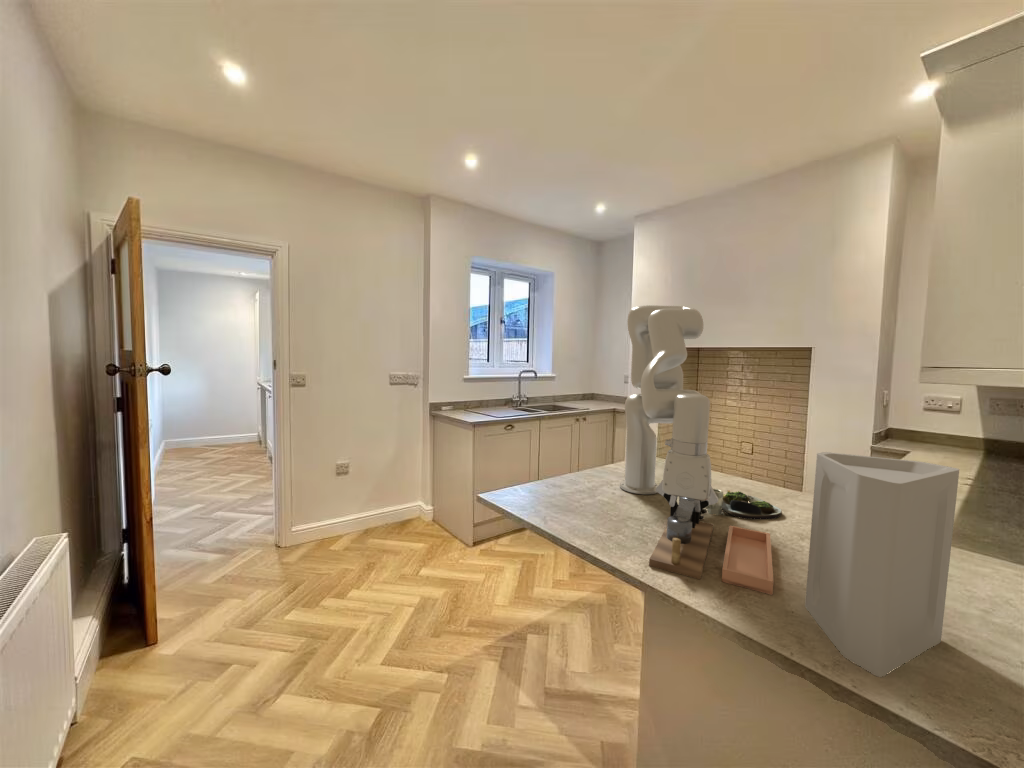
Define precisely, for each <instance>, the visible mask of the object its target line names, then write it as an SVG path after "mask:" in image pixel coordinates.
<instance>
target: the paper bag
mask: <svg viewBox="0 0 1024 768" xmlns="http://www.w3.org/2000/svg"><path fill="white" fill-rule="evenodd" d="M814 476H815V477H814V488H813V502H812V512H811V524H810V525H811V526H810V536H809V537H810V538H809V551H808V564H807V576H806V589H805V600H804V601H805V602H804V607H806V608H805V609H806V611H807V612H808V611H809V612H808V613H809V614H810V615H811V617H812V618H813V619H814V621H815V622H816V624H817V625H818V626H819V627H820V629H821V630H822V631H823V632H824V634H825V635H826V636H827V637H828V639H829V640H830V642H831V643H832V644H833V645H834V647H835V646H836V647H835V648H836V649H837V651H838V650H839V651H840V652H839V651H838V652H839V654H841V656H842V655H843V656H842V657H843V658H845V659H846V658H847V659H846V660H848V659H849V660H850V661H849V660H848V661H849V662H851V661H852V662H851V663H853V662H854V663H855V664H854V663H853V664H854V665H856V664H857V665H856V666H858V665H859V666H861V667H862V668H861V667H860V668H861V669H863V668H864V669H863V670H865V669H866V670H867V671H866V670H865V671H866V672H868V671H869V672H868V673H870V672H871V673H870V674H872V675H874V676H875V677H879V678H883V677H882V676H884V677H886V676H887V675H886V674H887V673H889V672H890V671H892V670H893V669H895V668H897V667H899V666H901V665H902V664H904V663H906V662H907V663H909V662H910V661H909V660H911V659H912V660H914V659H915V657H916V656H917V657H919V656H920V655H919V654H921V653H922V652H924V651H925V652H927V651H928V650H927V649H929V648H930V649H932V648H934V647H936V646H937V645H939V644H940V643H941V642H942V636H943V634H942V633H943V626H944V616H945V608H946V607H945V606H946V599H947V588H948V580H949V579H948V578H949V572H950V561H951V560H950V559H951V552H952V551H951V550H952V543H953V542H952V541H953V534H954V533H953V532H954V524H955V515H956V504H957V495H958V488H959V487H958V486H959V478H960V469H959V468H957V467H952V466H946V465H941V464H936V463H931V462H926V461H917V460H908V459H899V458H898V459H897V458H887V457H880V456H879V457H878V456H871V455H870V456H869V455H859V454H857V455H856V454H847V453H838V452H830V451H828V452H827V451H825V452H824V451H822V452H817V453H816V462H815V474H814ZM933 646H934V647H933ZM931 647H932V648H931ZM930 649H929V650H930ZM926 650H927V651H926ZM925 652H924V653H925ZM922 654H923V653H922ZM922 654H921V655H922ZM918 655H919V656H918ZM917 657H916V658H917ZM913 658H914V659H913ZM912 660H911V661H912ZM908 661H909V662H908ZM907 663H906V664H907ZM904 665H905V664H904ZM859 666H858V667H859ZM902 666H903V665H902ZM902 666H901V667H902ZM899 668H900V667H899ZM897 669H898V668H897ZM889 674H890V673H889ZM885 675H886V676H885Z"/></svg>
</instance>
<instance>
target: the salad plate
mask: <svg viewBox="0 0 1024 768" xmlns="http://www.w3.org/2000/svg"><path fill="white" fill-rule="evenodd" d="M722 499H723V506H722V510H723V511H722V512H724V513H725V512H726V514H727V515H729V514H730V515H729V516H732V515H733V516H732V517H735V516H736V517H735V518H739V517H740V519H744V518H745V520H775V519H778V518H779V517H780V516H781V515H782V513H783V512H782V511H783V510H782V509H781V508H780V507H778V506H775V505H773V504H771V503H770V502H767V501H766V500H763V499H761V498H758V497H756V496H752V495H749V494H748V495H747V494H746V493H744V492H742V491H739V490H738V491H730V490H727V492H726V493H723V497H722ZM748 501H749V502H751V503H748Z"/></svg>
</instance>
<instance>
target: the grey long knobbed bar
mask: <svg viewBox="0 0 1024 768" xmlns="http://www.w3.org/2000/svg"><path fill="white" fill-rule="evenodd" d="M693 508H694V499H689V498H683V497H679V498H678V507H677V509H676V511H675V513H674V515H673V516H671V517H670V516H669V517H667V522H666V523H667V524H666V527H667V538H668V539H669V540H670V541H672V539H673V538H678V539H680V540H681V544H688V543H690V542H691V535H692V511H693Z"/></svg>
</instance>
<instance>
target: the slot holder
mask: <svg viewBox="0 0 1024 768" xmlns="http://www.w3.org/2000/svg"><path fill="white" fill-rule="evenodd" d="M727 532H728V533H727V538H726V545H725V550H724V551H725V552H724V557H723V564H722V569H721V570H722V571H721V572H722V573H721V574H722V575H721V582H723V583H726V584H729V585H733V586H737V587H741V588H745V589H747V590H748V589H749V590H752V591H755V592H759V593H762V594H763V593H764V594H766V595H767V594H768V595H771V596H773V595H774V583H775V582H774V572H773V571H774V569H773V555H772V543H771V542H772V541H771V540H772V539H771V533H770V532H765V531H760V530H755V529H751V528H746V527H740V526H735V525H729V526H728V531H727Z"/></svg>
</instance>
